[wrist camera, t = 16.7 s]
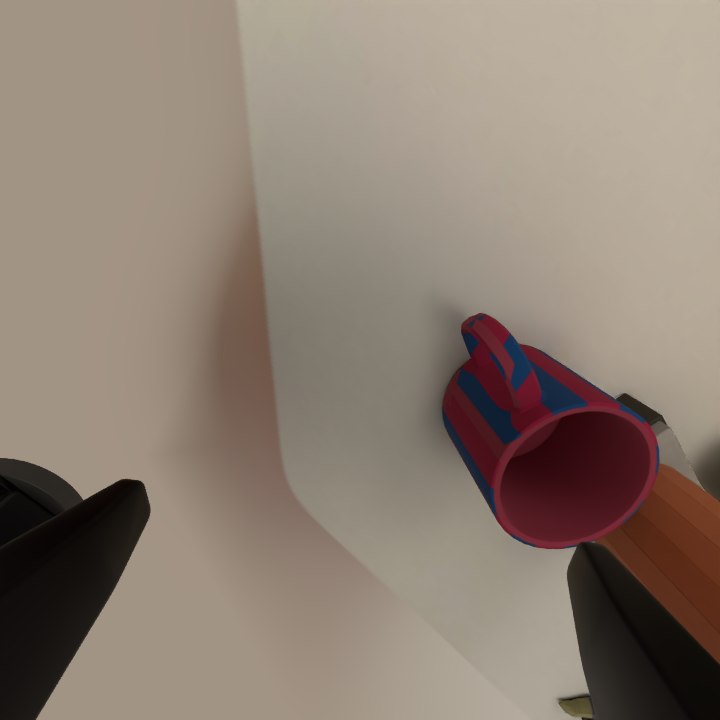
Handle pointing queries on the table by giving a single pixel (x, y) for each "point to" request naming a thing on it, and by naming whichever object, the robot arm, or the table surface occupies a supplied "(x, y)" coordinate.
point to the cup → (545, 442)
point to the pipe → (676, 553)
